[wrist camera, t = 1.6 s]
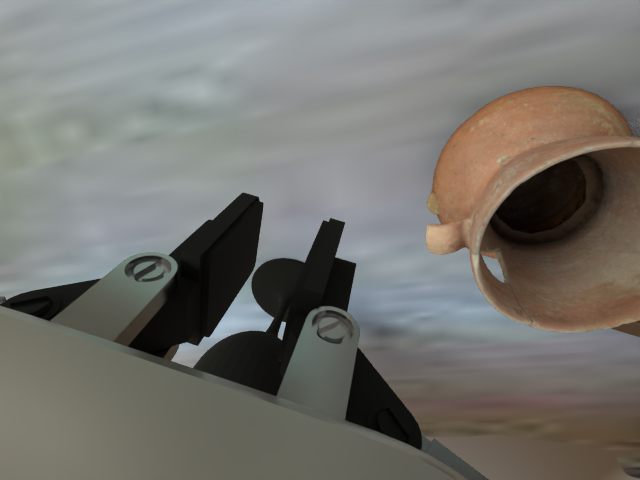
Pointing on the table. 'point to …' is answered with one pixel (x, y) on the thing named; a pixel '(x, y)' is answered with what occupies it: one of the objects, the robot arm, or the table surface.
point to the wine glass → (257, 333)
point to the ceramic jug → (545, 208)
